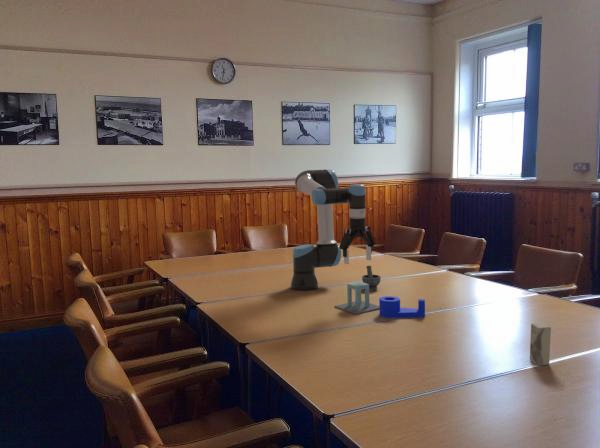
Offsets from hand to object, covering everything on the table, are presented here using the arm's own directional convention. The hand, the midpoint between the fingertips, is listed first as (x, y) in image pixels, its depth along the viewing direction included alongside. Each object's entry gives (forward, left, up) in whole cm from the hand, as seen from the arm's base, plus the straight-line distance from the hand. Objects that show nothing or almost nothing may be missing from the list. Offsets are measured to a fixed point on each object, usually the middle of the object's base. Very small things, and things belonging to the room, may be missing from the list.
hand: (357, 261), depth 247 cm
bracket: (+25, +4, -21) cm, 34 cm away
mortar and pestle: (-21, +27, -21) cm, 40 cm away
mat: (+4, -3, -21) cm, 22 cm away
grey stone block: (+93, 0, -21) cm, 96 cm away
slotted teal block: (+4, -3, -20) cm, 21 cm away
